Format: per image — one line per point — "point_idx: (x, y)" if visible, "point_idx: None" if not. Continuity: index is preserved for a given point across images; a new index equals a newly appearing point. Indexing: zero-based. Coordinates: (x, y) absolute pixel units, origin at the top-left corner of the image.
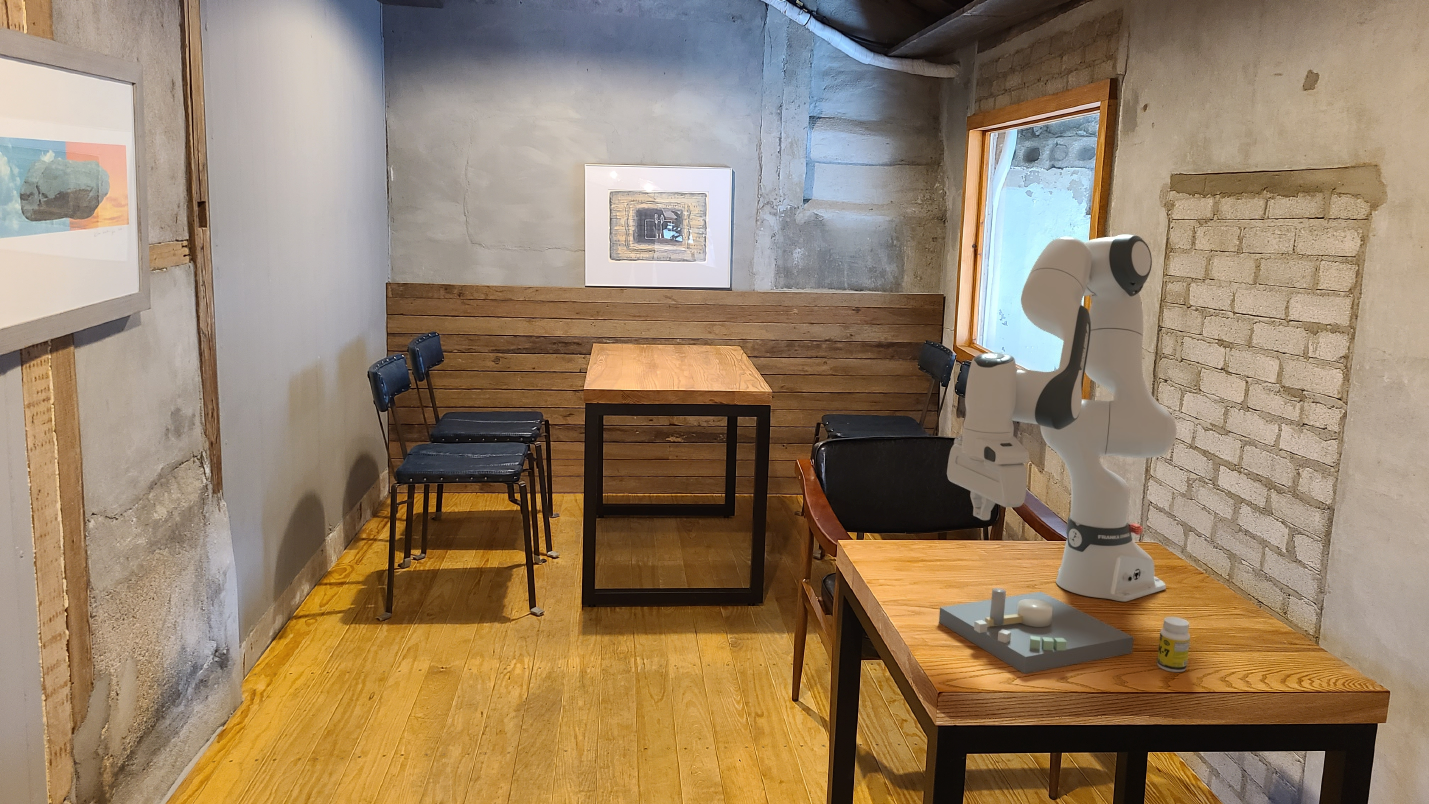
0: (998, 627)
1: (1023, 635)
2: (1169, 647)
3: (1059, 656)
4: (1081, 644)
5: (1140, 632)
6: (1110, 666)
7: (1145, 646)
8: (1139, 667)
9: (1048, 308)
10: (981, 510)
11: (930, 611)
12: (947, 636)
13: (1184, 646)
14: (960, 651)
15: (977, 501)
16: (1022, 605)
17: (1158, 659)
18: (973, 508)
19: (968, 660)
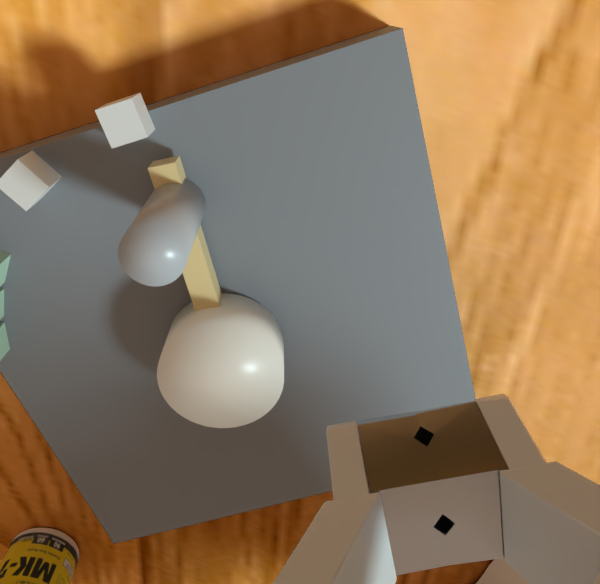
0: None
1: (95, 263)
2: None
3: None
4: (38, 407)
5: (258, 566)
6: (29, 432)
7: (170, 545)
8: (33, 489)
9: None
10: (350, 495)
11: (510, 31)
12: (246, 10)
13: None
14: (95, 10)
15: (569, 559)
16: (215, 333)
17: (38, 540)
18: (534, 443)
19: (9, 11)
